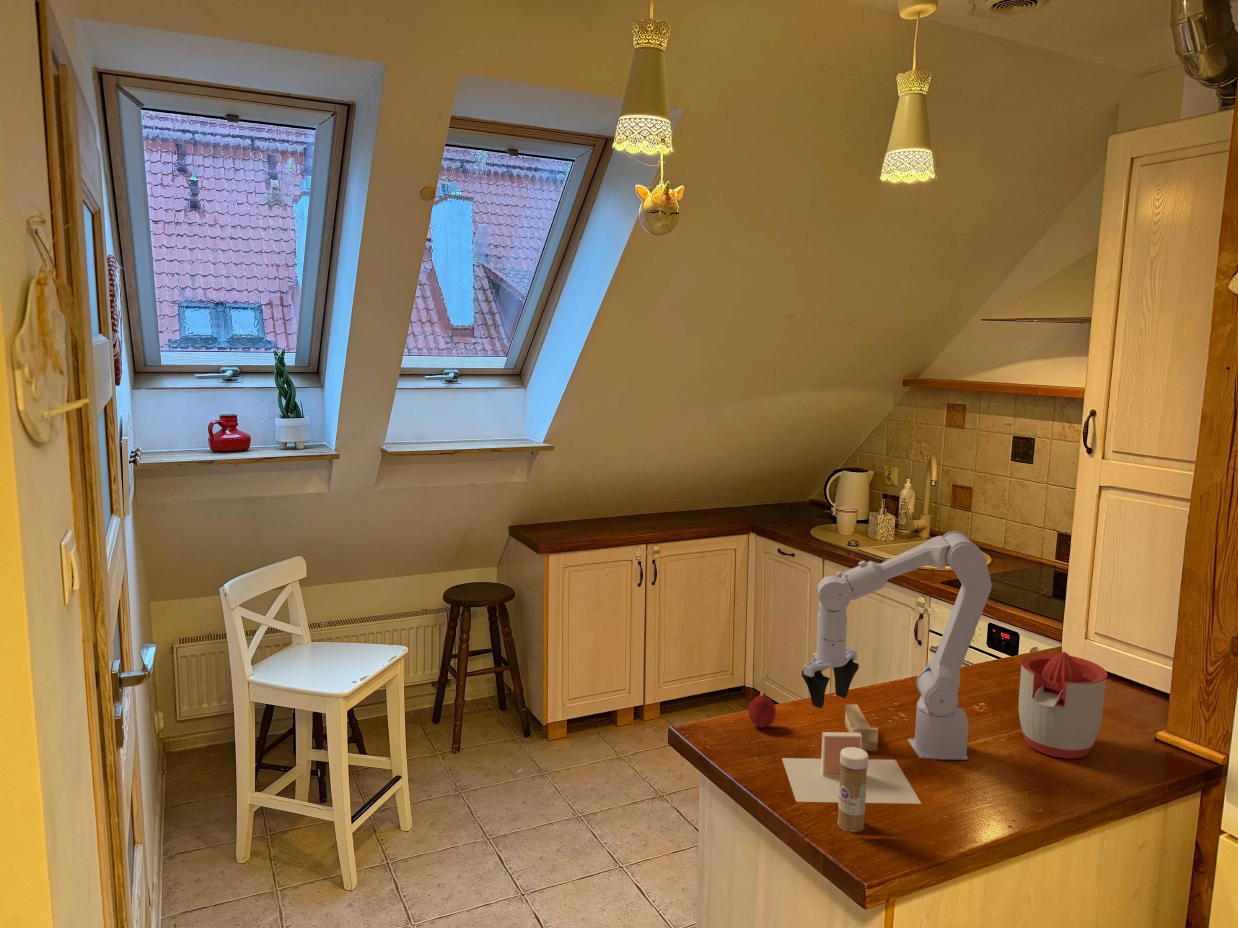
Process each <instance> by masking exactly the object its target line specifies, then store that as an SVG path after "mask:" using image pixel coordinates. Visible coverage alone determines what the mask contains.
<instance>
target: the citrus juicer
mask: <svg viewBox="0 0 1238 928" xmlns="http://www.w3.org/2000/svg"><path fill="white" fill-rule="evenodd" d="M1019 663H1020V667H1021V668H1020V681H1019V693H1018V695H1019V696H1018V716H1019V717H1018V718H1019V722H1020V727H1021V732H1022V735H1023V737H1024V742H1026V744H1027V745H1028V746H1029V747H1030V748H1031V749H1034V750H1036V751H1037V752H1039V753H1042V754H1044V755H1047V756H1050V757H1055V758H1060V759H1061V758H1062V759H1065V760H1073V759H1079V758H1083V757H1086V756H1087V755H1088V754H1089V753H1090V751H1092V748H1093V747H1094V745H1095V741H1096V740H1097V737H1098V736H1099V733H1100V729H1101V725H1102V720H1103V712H1104V699H1105V691H1106V690H1105V689H1106V681H1107V680H1106V679H1107V678H1108V676H1109V675H1108V672H1107V671H1106V669H1105V668H1104V667H1103V666H1101V665H1099V664H1097V663H1095V662H1093V661H1090V660H1089V659H1088V660H1087V659H1085V658H1081V657H1077V656H1073V655H1069V653H1067V652H1065V651H1062V652H1060V653H1051V652H1049V653H1048V652H1036V653H1031V654H1025V655H1024V656H1022V657H1021V658H1020V661H1019Z"/></svg>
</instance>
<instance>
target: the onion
mask: <svg viewBox="0 0 1238 928" xmlns="http://www.w3.org/2000/svg"><path fill="white" fill-rule="evenodd" d="M776 710H777V709H776V706H775V703H774V702H773V700H772V699H770V698H769V697H768V696H767V695H766V692H765V691H760V693H759V695H758V696H756V697H754V698H753V699H752V700H751V702H750V703H749V706H748V711H747V713H748V717H749V719H750V721H751V722H752V724H753V725H755V727H758V728H760V729H764V728H766V727H768V726H770V725H771V724H772V723H773V722H774V721H775V720H776V717H777V711H776Z"/></svg>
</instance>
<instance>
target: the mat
mask: <svg viewBox="0 0 1238 928" xmlns="http://www.w3.org/2000/svg"><path fill="white" fill-rule="evenodd" d="M781 760H782V764H783V767H784V769H785V772H786V775H787V778H788V782H789V784H790V787H791V792H792V794H793V796H794V799H795V802H796V803H837V804H838V801H839V789H840V776H822V774H821V758H803V757H802V758H793V757H792V758H790V757H782V758H781ZM865 804H900V805H901V804H904V805H905V804H906V805H907V804H911V805H912V804H913V805H922V802H921V800H920V799H919V797H918V795H917V794H916V792H915V791H914V789H913V787H912V785H911V783H910V782H909V780H908V779H907V777H906V775H905V774H904V772H903V770H902V769H901V767H900V765H899V763H898V762H897V760H896V759H869V758H868V767H867V775H866V801H865Z"/></svg>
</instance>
